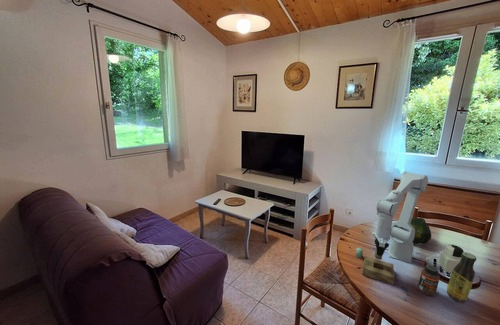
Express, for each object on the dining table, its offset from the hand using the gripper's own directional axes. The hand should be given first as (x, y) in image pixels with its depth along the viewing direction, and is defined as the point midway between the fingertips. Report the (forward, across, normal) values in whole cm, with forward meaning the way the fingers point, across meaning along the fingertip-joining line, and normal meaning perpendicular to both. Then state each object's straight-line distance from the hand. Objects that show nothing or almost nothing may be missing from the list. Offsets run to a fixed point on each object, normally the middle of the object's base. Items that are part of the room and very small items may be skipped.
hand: (379, 252), depth 103 cm
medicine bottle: (+9, -19, +30) cm, 37 cm away
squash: (+9, -40, +18) cm, 44 cm away
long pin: (+2, 0, 0) cm, 3 cm away
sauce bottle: (+10, +1, +28) cm, 30 cm away
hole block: (+9, +2, 0) cm, 9 cm away
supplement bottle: (+10, +3, +18) cm, 21 cm away
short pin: (+9, -7, -8) cm, 15 cm away
